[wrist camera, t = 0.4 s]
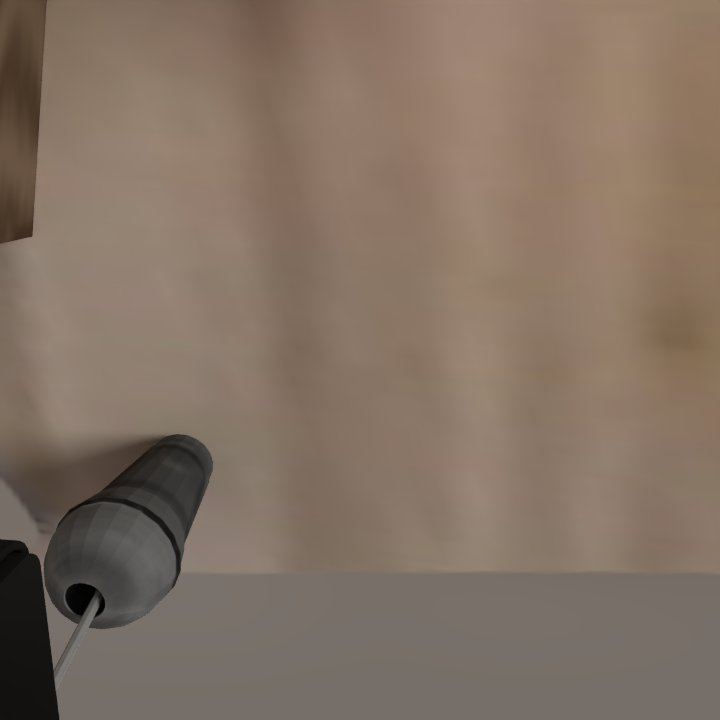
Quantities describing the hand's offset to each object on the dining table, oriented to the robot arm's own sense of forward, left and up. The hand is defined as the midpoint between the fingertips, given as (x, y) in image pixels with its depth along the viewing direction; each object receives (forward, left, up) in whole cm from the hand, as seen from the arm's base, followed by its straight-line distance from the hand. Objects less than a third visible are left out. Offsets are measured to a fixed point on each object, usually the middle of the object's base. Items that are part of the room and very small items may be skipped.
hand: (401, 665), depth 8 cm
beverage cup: (+18, -12, -36) cm, 42 cm away
